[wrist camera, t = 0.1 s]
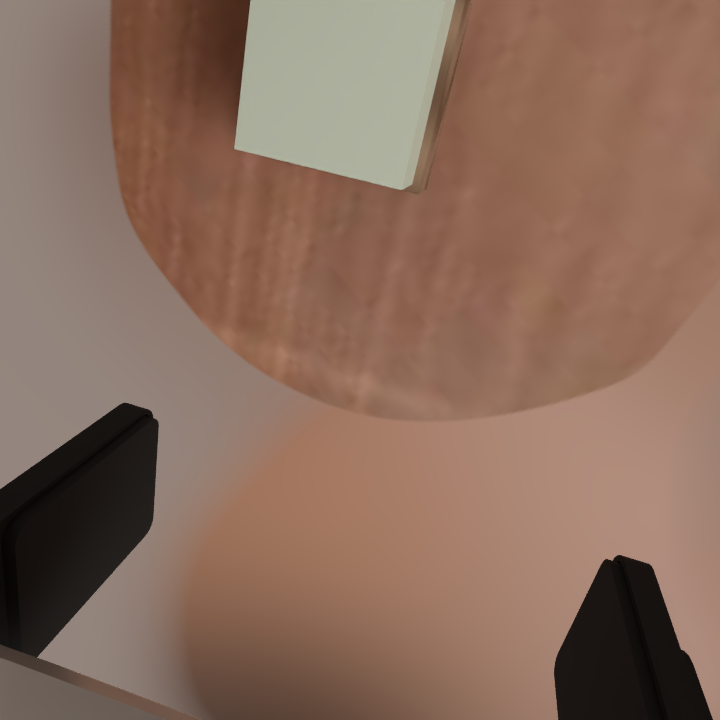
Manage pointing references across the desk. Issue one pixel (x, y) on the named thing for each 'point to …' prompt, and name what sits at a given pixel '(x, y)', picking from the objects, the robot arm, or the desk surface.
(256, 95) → the tower top
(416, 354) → the desk surface
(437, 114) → the tower base
